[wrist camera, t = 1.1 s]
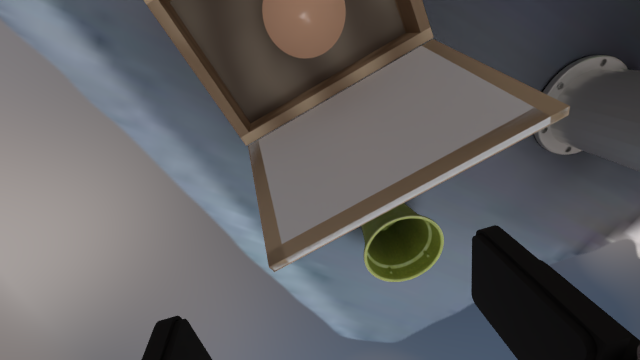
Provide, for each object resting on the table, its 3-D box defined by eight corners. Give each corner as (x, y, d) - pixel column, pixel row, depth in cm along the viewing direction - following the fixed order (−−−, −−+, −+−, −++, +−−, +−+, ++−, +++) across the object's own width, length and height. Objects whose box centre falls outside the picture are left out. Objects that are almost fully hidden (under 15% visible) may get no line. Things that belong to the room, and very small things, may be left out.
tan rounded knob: (308, -33, 28) (321, -56, 21) (337, 32, 31) (358, 32, 24) (250, 2, 29) (245, -8, 21) (285, 64, 31) (290, 73, 24)
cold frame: (356, -132, 26) (372, -162, 22) (413, 36, 33) (433, 37, 29) (156, -3, 28) (137, -9, 24) (248, 132, 35) (246, 145, 31)
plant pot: (388, 247, 45) (413, 290, 38) (334, 226, 42) (349, 269, 34) (424, 196, 42) (459, 232, 35) (370, 170, 39) (395, 203, 32)
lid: (569, 106, 18) (568, 115, 18) (432, 39, 29) (434, 45, 29) (269, 267, 20) (274, 271, 20) (248, 146, 31) (252, 150, 31)
